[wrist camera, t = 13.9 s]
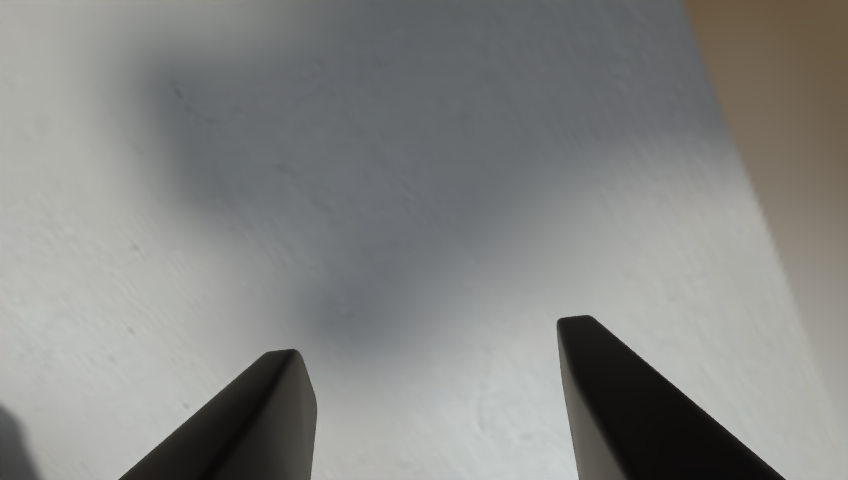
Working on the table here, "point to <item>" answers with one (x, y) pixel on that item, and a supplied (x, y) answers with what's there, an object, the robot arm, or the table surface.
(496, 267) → the table surface
